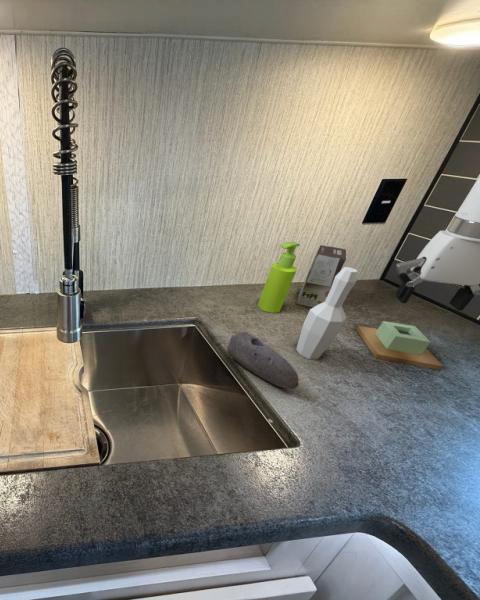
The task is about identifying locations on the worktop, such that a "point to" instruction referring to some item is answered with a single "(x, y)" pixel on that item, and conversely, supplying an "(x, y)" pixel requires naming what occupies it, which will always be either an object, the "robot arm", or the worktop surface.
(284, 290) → the soap dispenser
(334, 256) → the coffee box
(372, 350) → the base pad
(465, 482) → the worktop surface
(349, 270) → the faceted bottle
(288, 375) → the perforated stone tool
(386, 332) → the sage block
